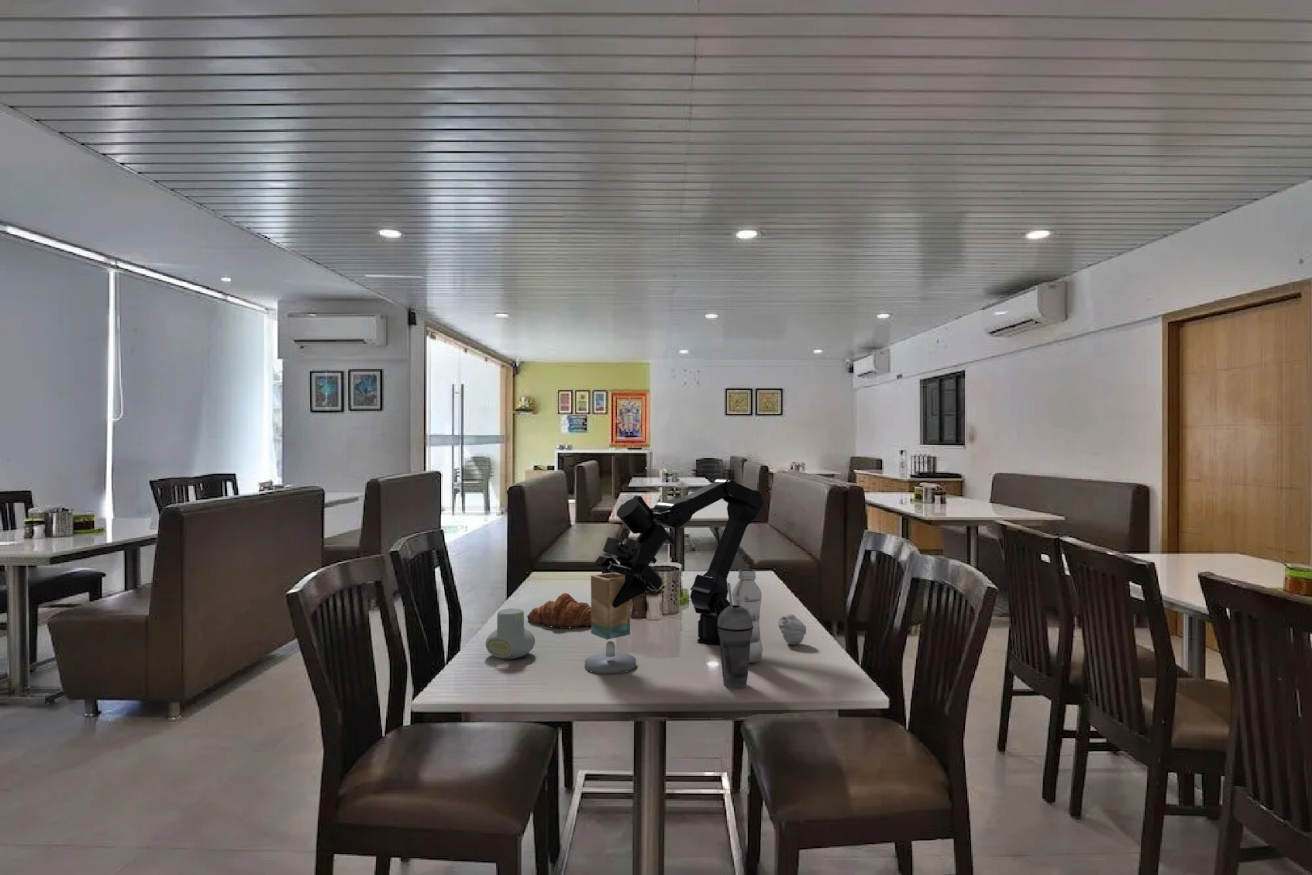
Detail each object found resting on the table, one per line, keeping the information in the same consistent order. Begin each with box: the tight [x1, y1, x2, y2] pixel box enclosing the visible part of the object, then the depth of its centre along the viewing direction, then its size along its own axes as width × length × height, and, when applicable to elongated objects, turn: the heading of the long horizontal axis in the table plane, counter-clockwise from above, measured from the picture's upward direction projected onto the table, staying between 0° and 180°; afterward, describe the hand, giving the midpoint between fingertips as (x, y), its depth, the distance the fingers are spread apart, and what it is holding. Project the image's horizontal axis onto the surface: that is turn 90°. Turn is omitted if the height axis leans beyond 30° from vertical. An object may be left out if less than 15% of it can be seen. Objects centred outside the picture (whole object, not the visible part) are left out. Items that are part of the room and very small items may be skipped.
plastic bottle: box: [731, 568, 763, 664], centre depth 147 cm, size 6×7×20 cm
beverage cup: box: [717, 582, 753, 690], centre depth 133 cm, size 7×7×20 cm
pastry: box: [526, 592, 591, 629], centre depth 180 cm, size 17×15×8 cm
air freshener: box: [485, 608, 536, 661], centre depth 152 cm, size 11×8×10 cm
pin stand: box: [584, 640, 637, 675], centre depth 144 cm, size 11×11×5 cm
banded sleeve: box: [590, 572, 631, 641], centre depth 144 cm, size 6×6×12 cm
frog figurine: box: [777, 613, 807, 646], centre depth 160 cm, size 6×7×7 cm
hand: (605, 603), depth 144 cm, fingers closed on banded sleeve, 6 cm apart
